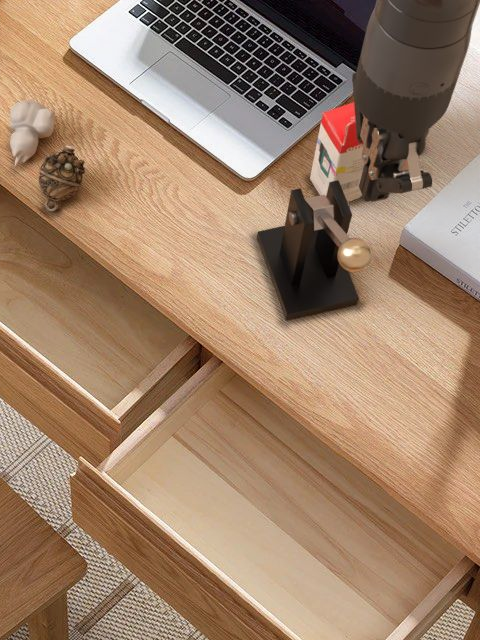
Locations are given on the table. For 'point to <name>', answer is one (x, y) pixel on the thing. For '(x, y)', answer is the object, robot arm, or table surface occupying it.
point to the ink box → (338, 153)
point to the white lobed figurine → (29, 127)
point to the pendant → (60, 175)
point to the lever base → (308, 259)
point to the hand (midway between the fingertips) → (372, 192)
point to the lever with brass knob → (339, 235)
